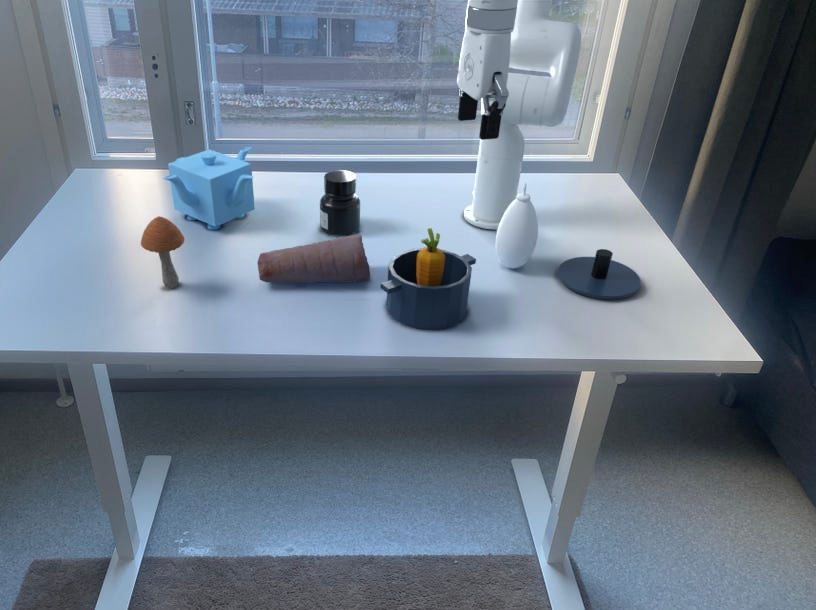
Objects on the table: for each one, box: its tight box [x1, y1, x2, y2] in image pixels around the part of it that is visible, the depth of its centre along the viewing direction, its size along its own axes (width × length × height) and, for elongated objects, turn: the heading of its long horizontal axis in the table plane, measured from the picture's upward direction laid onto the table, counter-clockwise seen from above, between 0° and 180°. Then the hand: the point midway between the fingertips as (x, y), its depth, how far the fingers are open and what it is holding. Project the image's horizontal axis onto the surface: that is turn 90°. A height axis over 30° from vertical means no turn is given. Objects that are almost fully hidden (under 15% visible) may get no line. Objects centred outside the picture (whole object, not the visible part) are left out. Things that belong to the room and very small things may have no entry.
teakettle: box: [163, 146, 255, 230], centre depth 157 cm, size 19×19×15 cm
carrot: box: [416, 227, 445, 287], centre depth 125 cm, size 5×5×15 cm
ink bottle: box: [319, 169, 361, 236], centre depth 153 cm, size 10×9×12 cm
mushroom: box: [140, 215, 186, 290], centre depth 131 cm, size 8×8×15 cm
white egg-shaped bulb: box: [495, 182, 539, 269], centre depth 137 cm, size 8×8×18 cm
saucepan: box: [380, 247, 477, 331], centre depth 128 cm, size 15×20×8 cm
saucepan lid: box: [556, 248, 642, 300], centre depth 136 cm, size 16×16×6 cm
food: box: [256, 233, 371, 284], centre depth 135 cm, size 21×9×9 cm, turn 100°
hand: (477, 128), depth 119 cm, fingers open, 9 cm apart
